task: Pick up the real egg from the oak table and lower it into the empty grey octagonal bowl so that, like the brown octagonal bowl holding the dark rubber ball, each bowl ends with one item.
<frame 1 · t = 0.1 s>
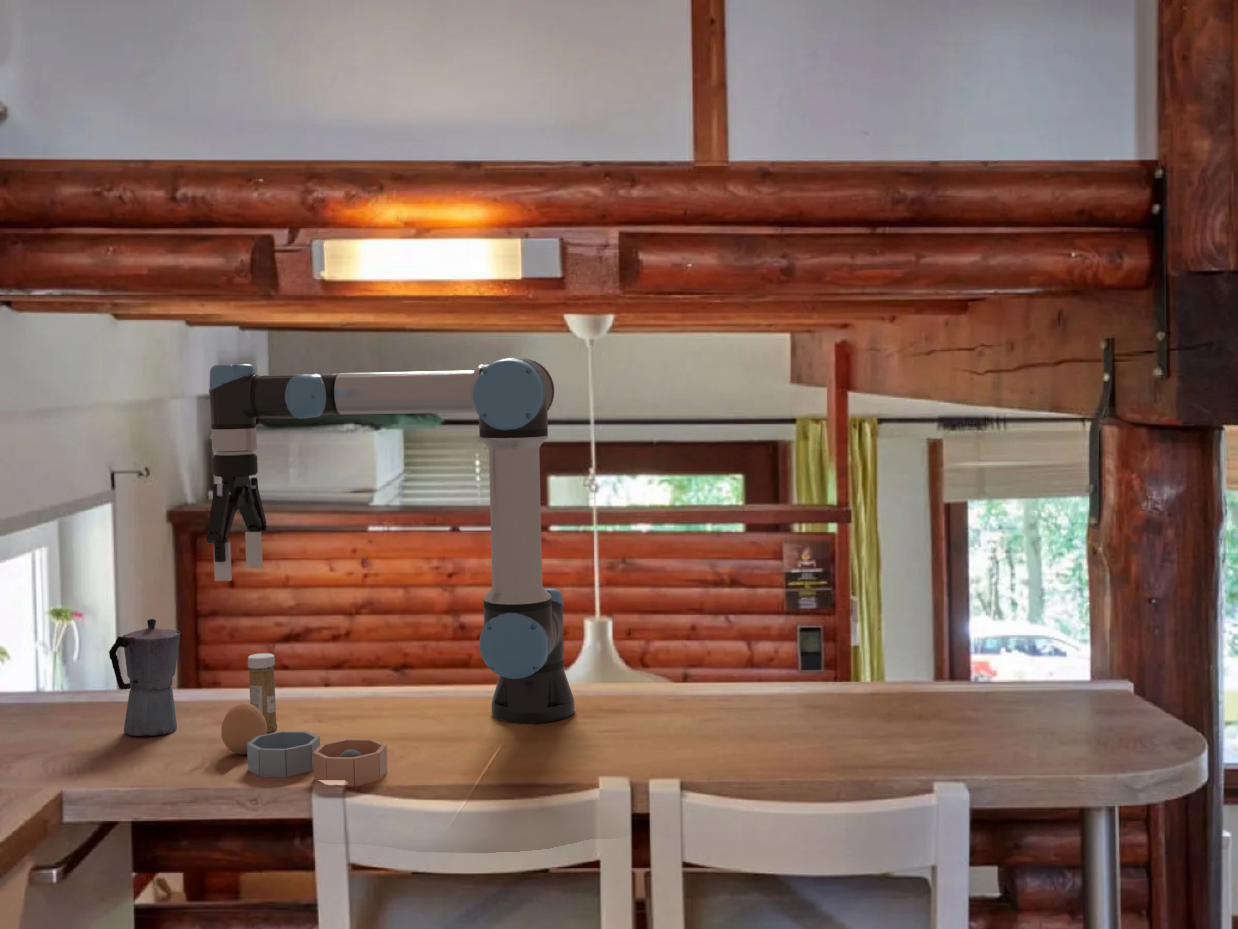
hand: (239, 574, 233), 28 cm above the counter, fingers open, 13 cm apart
sprinkles bottle: (264, 731, 235), on the counter
grey octagonal bowl: (284, 771, 211), on the counter
rubber ball: (351, 775, 206), point 1 cm above the counter, touching brown octagonal bowl
egg: (245, 755, 221), on the counter
brown octagonal bowl: (351, 780, 206), on the counter
moka pot: (150, 733, 235), on the counter
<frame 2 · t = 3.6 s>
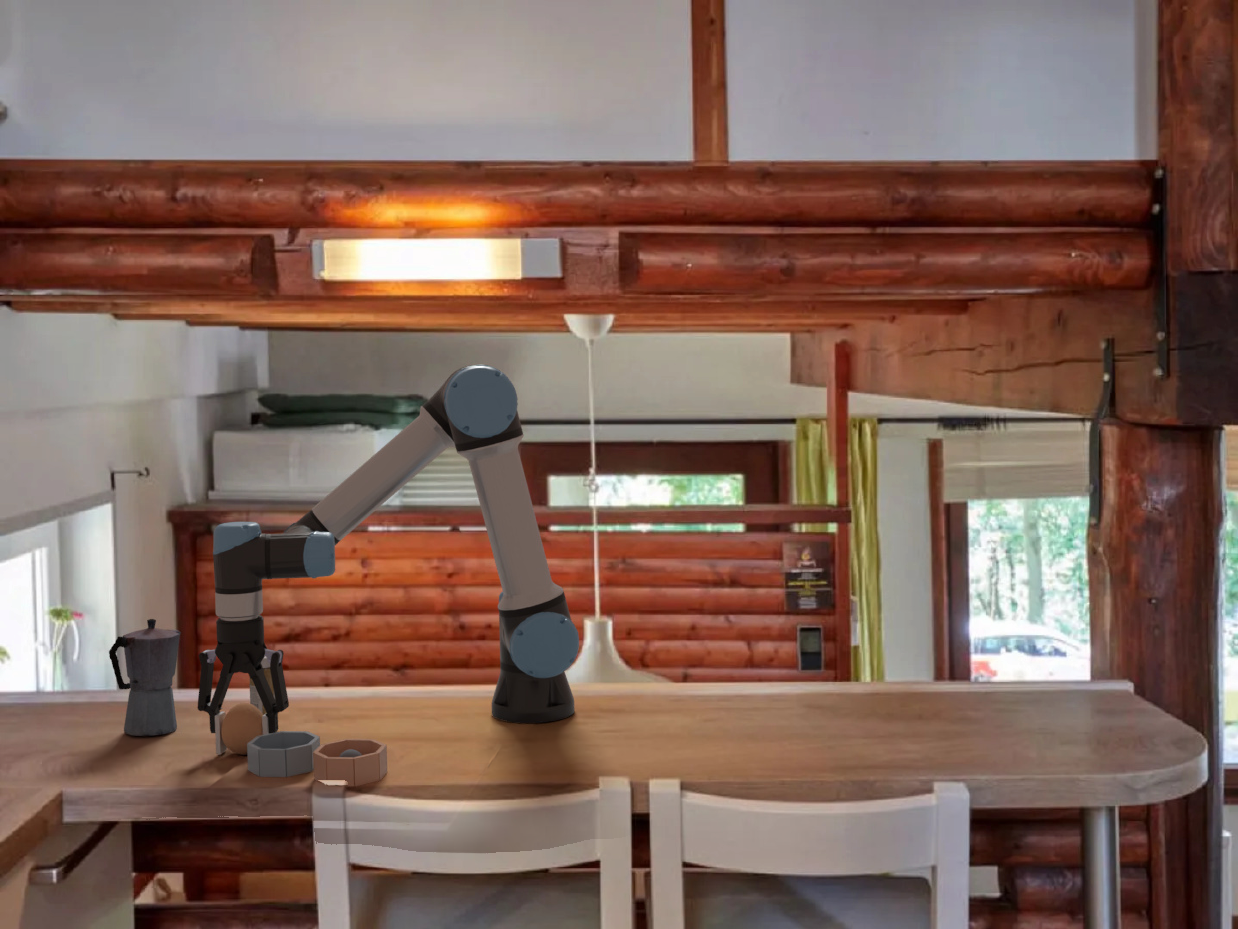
hand: (245, 752, 221), 0 cm above the counter, fingers closed on egg, 7 cm apart
egg: (245, 755, 221), on the counter, touching gripper
everything else where it was.
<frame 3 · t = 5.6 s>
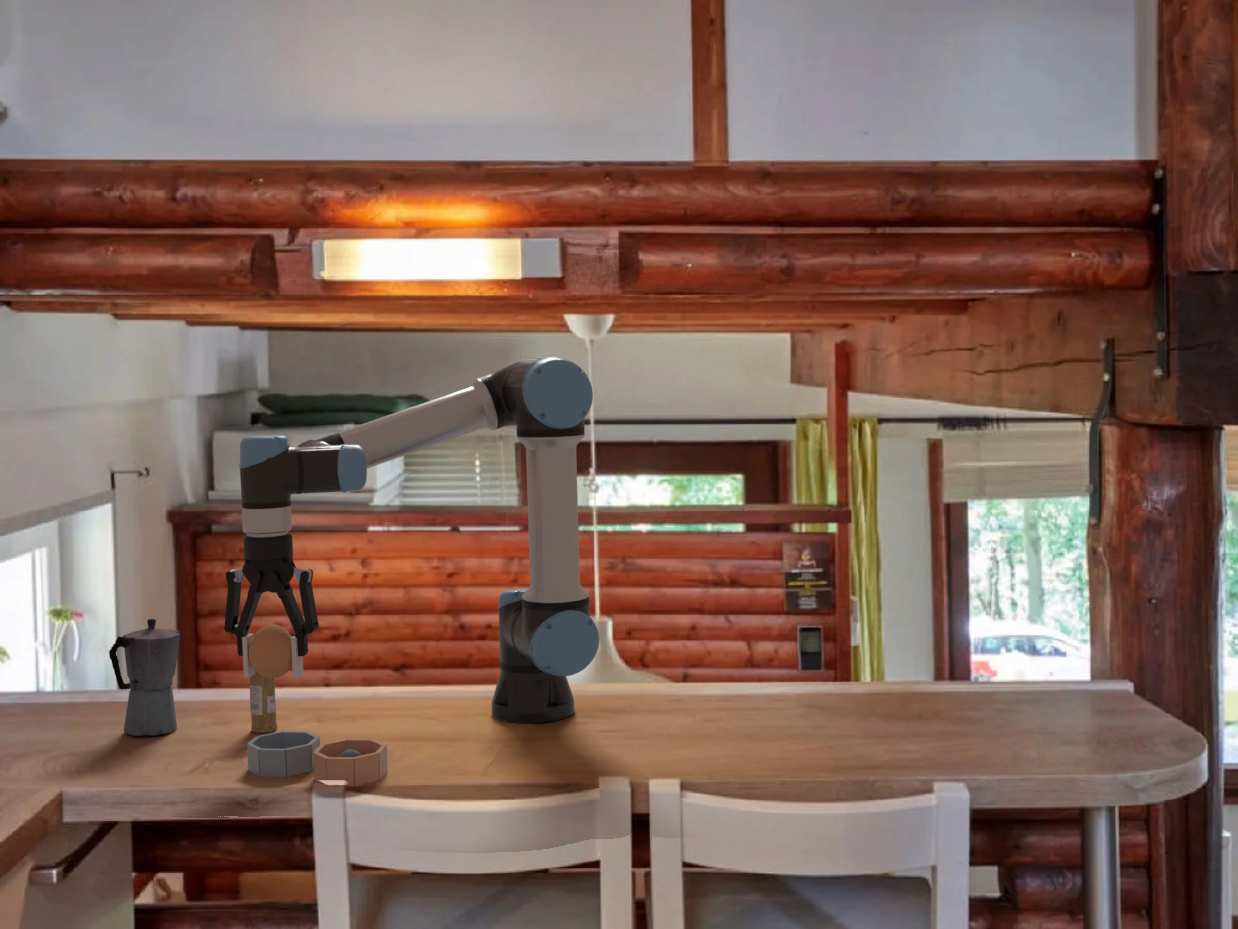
hand: (273, 675, 212), 15 cm above the counter, fingers closed on egg, 7 cm apart
egg: (273, 678, 212), point 14 cm above the counter, touching gripper
everything else where it was.
when the fingers open (7 cm above the counter, at t = 7.5 s): egg drops 5 cm, resting on grey octagonal bowl.
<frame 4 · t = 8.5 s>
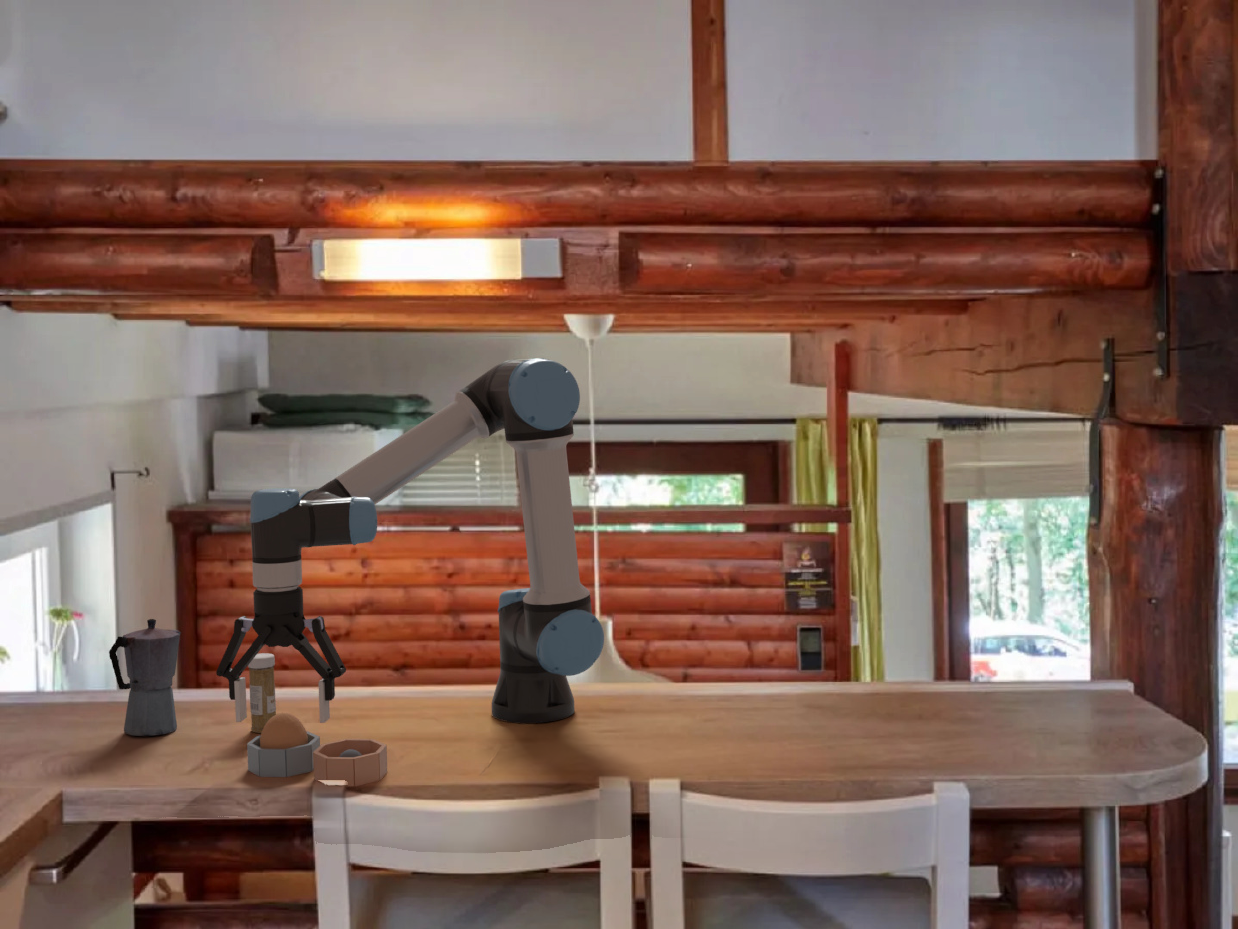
hand: (283, 720, 210), 8 cm above the counter, fingers open, 13 cm apart
egg: (284, 767, 211), point 1 cm above the counter, touching grey octagonal bowl
everything else where it was.
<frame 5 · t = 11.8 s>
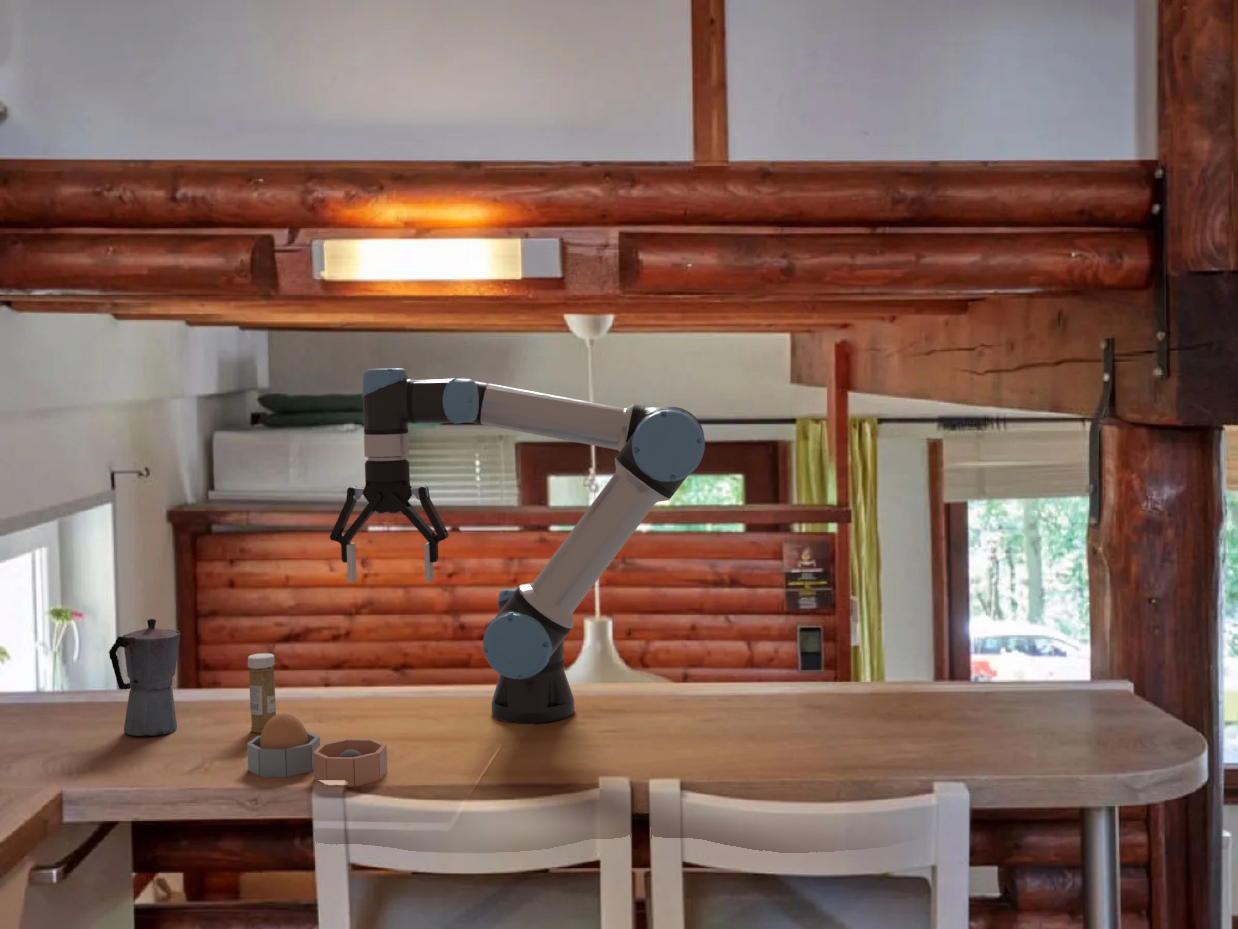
hand: (390, 581, 230), 27 cm above the counter, fingers open, 13 cm apart
nothing on the counter moved.
at the end: egg 0.1 cm from the grey octagonal bowl (horizontally); egg point 0.6 cm above the counter; the gripper is holding nothing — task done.
